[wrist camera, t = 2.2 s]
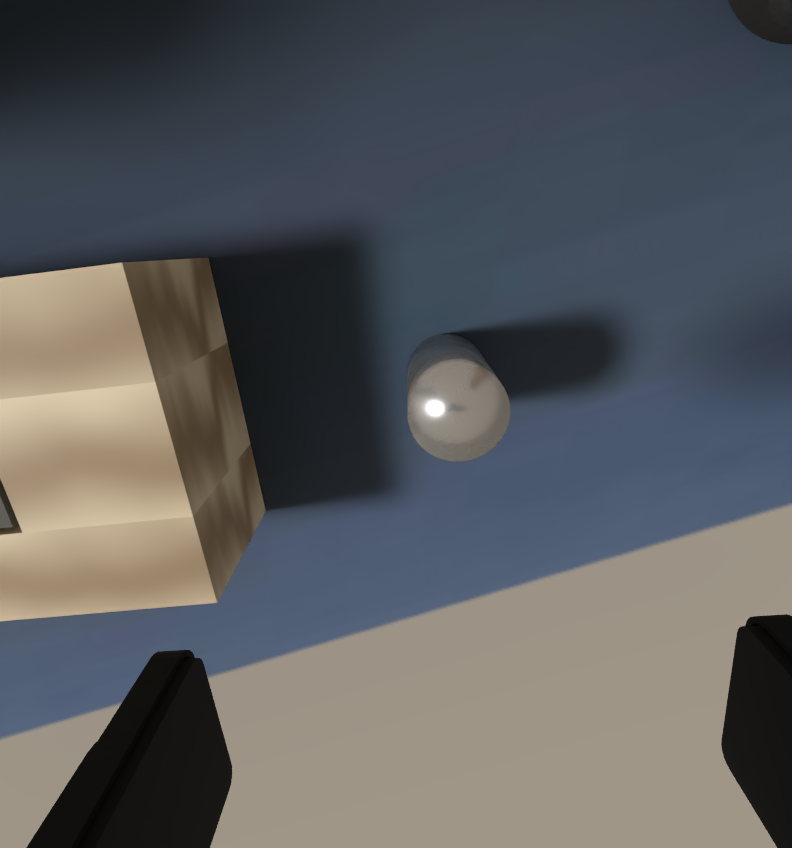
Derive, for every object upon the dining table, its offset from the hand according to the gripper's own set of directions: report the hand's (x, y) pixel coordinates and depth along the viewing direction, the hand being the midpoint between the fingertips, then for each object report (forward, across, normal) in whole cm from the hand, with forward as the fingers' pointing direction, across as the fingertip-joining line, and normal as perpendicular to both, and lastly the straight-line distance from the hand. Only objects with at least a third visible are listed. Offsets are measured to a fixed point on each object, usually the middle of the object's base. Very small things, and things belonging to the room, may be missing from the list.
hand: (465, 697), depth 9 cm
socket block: (+19, +20, -1) cm, 28 cm away
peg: (+19, -1, -1) cm, 19 cm away
